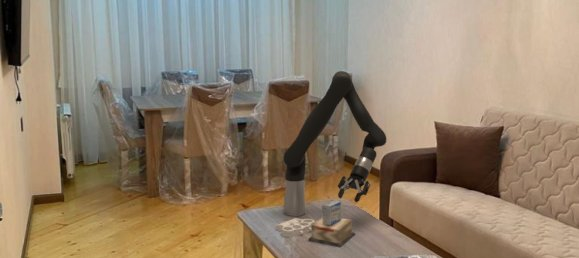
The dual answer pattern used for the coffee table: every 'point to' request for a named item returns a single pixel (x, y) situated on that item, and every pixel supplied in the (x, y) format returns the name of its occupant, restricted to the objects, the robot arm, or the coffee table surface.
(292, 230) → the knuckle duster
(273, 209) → the coffee table surface
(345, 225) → the stand
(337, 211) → the medicine box
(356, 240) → the coffee table surface
